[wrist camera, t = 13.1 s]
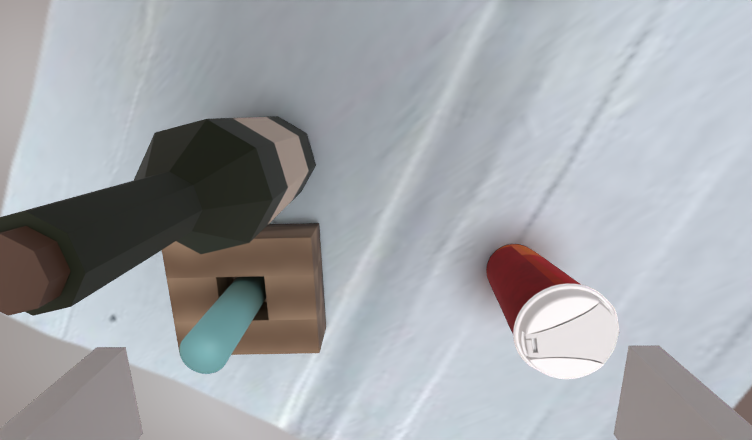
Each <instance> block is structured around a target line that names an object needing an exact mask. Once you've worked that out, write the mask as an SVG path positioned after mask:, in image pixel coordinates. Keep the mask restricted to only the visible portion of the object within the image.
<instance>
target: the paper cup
mask: <svg viewBox="0 0 752 440" xmlns="http://www.w3.org/2000/svg"><path fill="white" fill-rule="evenodd" d="M487 277H488V280H489V283H490V285H491V287H492V290H493V292H494V294H495V296H496V298H497V300H498V302H499V304H500V307H501V309H502V311H503V313H504V316H505V318H506V320H507V322H508V325H509V327H510V329H511V331H512V333H513V336H514V343H515V347H516V349H517V351H518V353H519V355H520V356H521V358H522V359H523V360H524V361H525V362H526V363H527V364H528V365H530V366H531V367H533V368H534V369H536V370H538V371H541V372H542V373H544V374H546V375H548V376H551V377H554V378H560V379H574V378H579V377H583V376H586V375H589V374H591V373H593V372H594V371H596V370H598V369H599V368H600V367H602V366H603V365H604V364H605V362H606V361H607V360H608V358H609V357H610V356H611V354H612V352H613V351H614V349H615V346H616V343H617V338H618V335H619V324H618V319H617V314H616V311H615V308H614V307H613V306H612V305H611V304H610V302H609V301H608V300H607V299H606V298H605V297H604V296H603V295H602V294H600V293H599V292H598V291H596V290H594V289H593V288H591V287H588V286H585V285H581V284H580V283H578V282H577V281H575V280H574V279H573V278H571V277H570V276H568V275H567V274H566V273H564V272H563V271H561V270H560V269H559V268H557V267H556V266H554V265H553V264H552V263H550V262H549V261H547V260H546V259H545V258H543V257H542V256H540V255H539V254H537V253H536V252H534V251H533V250H531V249H529V248H528V247H526V246H523V245H519V244H510V245H506V246H503V247H501V248H499V249H498V250H496V251H495V252H494V253H493V254H492V256H491V257H490V259H489V261H488V263H487Z"/></svg>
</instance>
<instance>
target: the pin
mask: <svg viewBox="0 0 752 440" xmlns="http://www.w3.org/2000/svg"><path fill="white" fill-rule="evenodd" d="M265 299H266V289H265V279H264V276H251V277H237V278H236V279H235V280H234V281H233V283H232V284H231V285H230V286H229V287H228V288H227V289H226V291H225V292H224V293H223V294H222V295H221V296H220V297H219V299H218V300H217V301H216V302H215V303H214V304H213V305H212V307H211V308H210V309H209V310H208V311H207V312H206V313H205V315H204V316H203V317H202V318H201V319H200V320H199V321H198V323H197V324H196V325H195V326H194V327H193V328H192V329H191V331H190V332H189V333H188V334H187V335H186V336H185V338H184V339H183V340H182V342H181V344H180V356H181V359H182V360H183V362H184V363H185V365H186V366H187V367H189V368H190V369H192V370H193V371H195V372H198V373H203V374H210V373H214V372H217V371H219V370H220V369H222V368H223V367H224V365H225V364H226V362H227V361H228V359H229V357H230V356H231V354H232V352H233V351H234V349H235V348H236V346H237V344H238V343H239V341H240V340H241V338H242V336H243V335H244V333H245V332H246V330H247V328H248V327H249V325H250V323H251V322H252V320H253V319H254V317H255V315H256V314H257V312H258V311H259V309H260V307H261V306H262V304H263V302H264V301H265Z"/></svg>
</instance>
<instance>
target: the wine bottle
mask: <svg viewBox="0 0 752 440" xmlns="http://www.w3.org/2000/svg"><path fill="white" fill-rule="evenodd" d="M315 166H316V164H315V160H314V157H313V153H312V150H311V146H310V143H309V140H308V136H307V134H306V133H305V132H303V131H301V130H300V129H298V128H296V127H295V126H293V125H291V124H290V123H288V122H286V121H285V120H283V119H281V118H280V117H278V116H277V117H249V118H220V119H205V120H201V121H197V122H193V123H190V124H186V125H182V126H178V127H175V128H171V129H167V130H163V131H160V132H156V133H155V134H154V136H153V138H152V140H151V143H150V145H149V147H148V149H147V152H146V154H145V156H144V158H143V161H142V163H141V165H140V167H139V170H138V172H137V174H136V176H135V179H134V181H131V182H127V183H124V184H120V185H116V186H113V187H109V188H105V189H102V190H98V191H94V192H91V193H87V194H84V195H80V196H76V197H73V198H69V199H65V200H62V201H58V202H54V203H51V204H47V205H43V206H40V207H36V208H32V209H29V210H25V211H22V212H18V213H14V214H11V215H7V216H3V217H0V312H2V313H4V314H6V315H12V314H17V313H21V312H27V313H29V314H31V315H38V314H42V313H46V312H50V311H54V310H59V309H63V308H67V307H71V306H73V305H74V304H76V303H78V302H79V301H81V300H82V299H84V298H86V297H87V296H89V295H90V294H92V293H94V292H95V291H97V290H98V289H100V288H102V287H103V286H105V285H106V284H108V283H110V282H111V281H113V280H114V279H116V278H118V277H119V276H121V275H122V274H124V273H126V272H127V271H129V270H130V269H132V268H134V267H135V266H137V265H138V264H140V263H142V262H143V261H145V260H146V259H148V258H150V257H151V256H153V255H154V254H156V253H158V252H159V251H161V250H162V249H164V248H166V247H167V246H169V245H170V244H172V243H174V242H175V241H177V242H178V243H180V244H182V245H184V246H186V247H188V248H190V249H192V250H194V251H195V252H197V253H199V254H205V253H210V252H214V251H218V250H222V249H226V248H230V247H235V246H239V245H243V244H247V243H250V242H251V241H252V240H253V239H254V238H255V237H256V236H257V235H258V234H259V233H260V232H261V231H262V230H263V229H264V228H265V227H266V226H267V225H268V224H269V223H270V222H271V221H272V220H273V219H274V218H275V217H276V216H277V215H278V214H279V213H280V212H281V211H282V210H283V209H284V208H285V207H286V206H287V205H288V204H289V203H290V202H291V201H292V200H293V199H294V198H295V197H296V196H298V195H299V194H300V193H301V191H302V189H303V187H304V186H305V184H306V182H307V180H308V179H309V177H310V175H311V173H312V171H313V170H314V168H315Z"/></svg>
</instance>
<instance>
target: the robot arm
mask: <svg viewBox="0 0 752 440" xmlns="http://www.w3.org/2000/svg"><path fill="white" fill-rule="evenodd" d="M142 434H143V431H142V426H141V421H140V416H139V412H138V406H137V401H136V397H135V392H134V387H133V382H132V377H131V372H130V367H129V362H128V357H127V352H126V347H97V348H96V349H94V350H93V351H92V352H91V353H90V354H89V355H87V356H86V357H85V358H84V359H82V360H81V361H80V362H79V363H78V364H76V365H75V366H74V367H73V368H72V369H70V370H69V371H68V372H67V373H66V374H64V375H63V376H62V377H61V378H60V379H58V380H57V381H56V382H55V383H54V384H53V385H51V386H50V387H49V388H48V389H46V390H45V391H44V392H43V393H42V394H40V395H39V396H38V397H37V398H36V399H34V400H33V401H32V402H31V403H30V404H28V405H27V406H26V407H25V408H24V409H22V410H21V411H20V412H19V413H18V414H16V415H15V416H14V417H13V418H12V419H10V420H9V421H8V422H7V423H6V424H5V425H3V426H2V427H1V428H0V440H138V439H139V438H140V436H141V435H142ZM614 435H615V437H616V438H617V439H618V440H752V426H751V425H750V424H749V423H748V422H747V421H746V420H745V419H743V418H742V417H741V416H740V415H739V414H738V413H736V412H735V411H734V410H733V409H732V408H731V407H730V406H728V405H727V404H726V403H725V402H724V401H723V400H721V399H720V398H719V397H718V396H717V395H716V394H714V393H713V392H712V391H711V390H710V389H709V388H708V387H706V386H705V385H704V384H703V383H702V382H701V381H699V380H698V379H697V378H696V377H695V376H694V375H692V374H691V373H690V372H689V371H688V370H687V369H685V368H684V367H683V366H682V365H681V364H680V363H679V362H677V361H676V360H675V359H674V358H673V357H672V356H670V355H669V354H668V353H667V352H666V351H665V350H663V349H662V348H661V347H660V346H629V347H628V353H627V359H626V365H625V371H624V377H623V383H622V388H621V394H620V400H619V406H618V412H617V418H616V424H615V430H614Z"/></svg>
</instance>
